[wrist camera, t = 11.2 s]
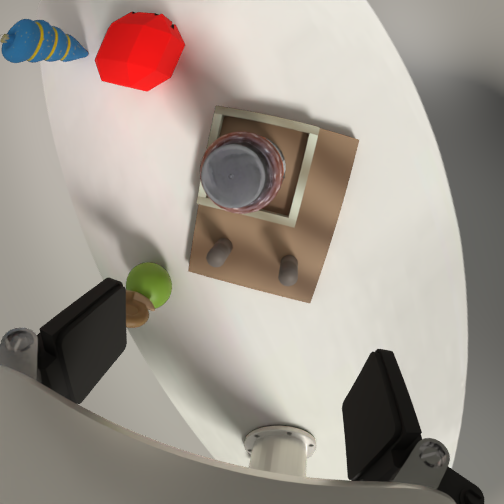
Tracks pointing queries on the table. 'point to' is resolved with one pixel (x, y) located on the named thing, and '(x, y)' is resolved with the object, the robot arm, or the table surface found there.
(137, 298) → the snail figurine
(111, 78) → the ball
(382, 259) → the table surface
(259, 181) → the supplement bottle
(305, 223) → the pin board
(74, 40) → the ornament
